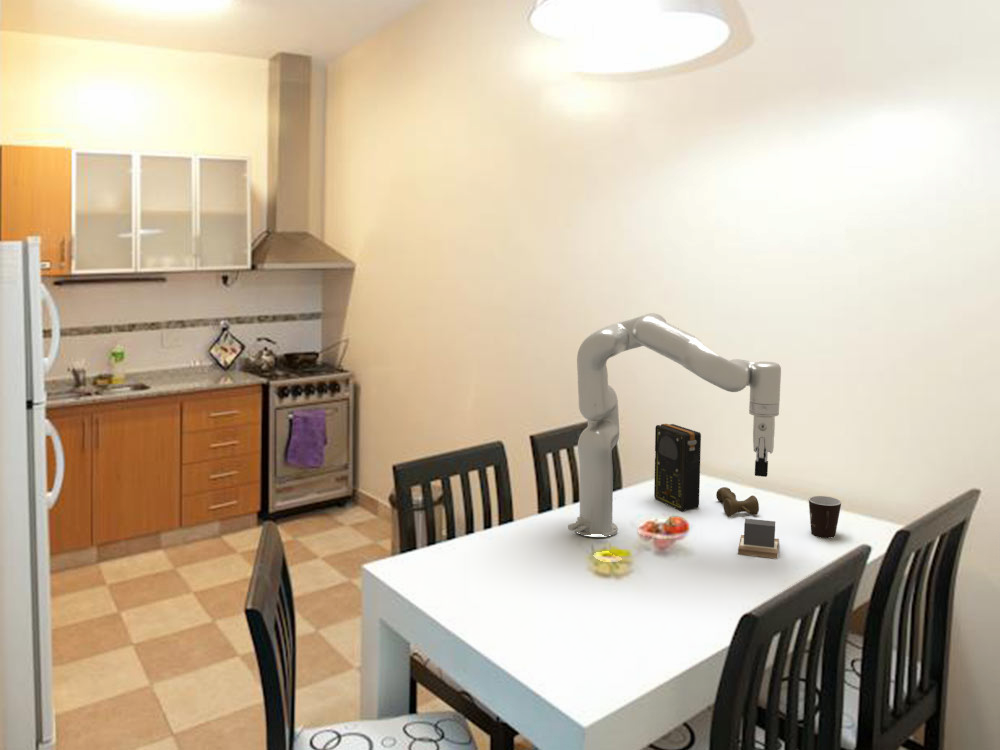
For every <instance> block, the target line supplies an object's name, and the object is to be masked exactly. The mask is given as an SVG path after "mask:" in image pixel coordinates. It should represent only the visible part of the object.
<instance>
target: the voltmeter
mask: <svg viewBox="0 0 1000 750" xmlns="http://www.w3.org/2000/svg"><path fill="white" fill-rule="evenodd" d="M654 431H655V434H654V441H655V442H654V452H655V454H654V455H655V457H654V485H653V486H654V490H653V491H654V492H653V495H654V499H655V500H657V501H660V502H662V503H664V504H665V503H666V504H665V505H667V504H668V506H669V505H670V506H669V507H672V508H674V507H675V508H674V509H676V510H678V511H681V512H685V511H687V510H692V509H697V508H699V506H700V487H701V486H700V484H701V483H700V481H701V480H700V477H701V452H702V451H701V449H702V448H701V447H702V446H701V445H702V443H701V442H702V434H701V432H700V431H696V430H694V429H693V430H692V429H689V428H687V427H683V426H681V425H678V424H674V423H670V424H668V423H661V424H656V426H655V429H654Z"/></svg>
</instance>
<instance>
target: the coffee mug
mask: <svg viewBox="0 0 1000 750" xmlns="http://www.w3.org/2000/svg"><path fill="white" fill-rule="evenodd" d="M808 506H809V523H810V533H811V535H812V536H814V537H817V538H820V537H821V538H822V539H832V538H831V537H833V538H835V537H836V534H837V528H838V523H839V522H838V521H839V518H840V511H841V506H842V501H841V500H840V499H839V498H836V497H832V496H827V495H812V496H811V497H809V498H808ZM834 536H835V537H834ZM821 538H820V539H821Z"/></svg>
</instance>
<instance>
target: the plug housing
mask: <svg viewBox="0 0 1000 750" xmlns="http://www.w3.org/2000/svg"><path fill="white" fill-rule="evenodd" d="M744 519H745V520H744V525H743V526H744V528H743V535H744V544H745V545H754V546H763V547H772V548H774V542H775V539H776V538H775V537H776V536H775V534H776V521H775V520H763V519H755V518H744Z"/></svg>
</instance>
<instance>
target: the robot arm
mask: <svg viewBox="0 0 1000 750" xmlns="http://www.w3.org/2000/svg"><path fill="white" fill-rule="evenodd" d="M640 347H645V348H647V349H648V350H652V352H655V353H657V354H658V355H661V356H663V357H665V358H667V359H669V360H671V361H673V362H675V363H676V364H679V365H681V366H682V368H685V369H686V370H687V371H689V372H691V373H692V374H693V375H696V376H697V377H698V378H701V379H702V380H704V381H705V382H708V383H710V384H712V385H713V386H716V387H718V388H720V389H722V390H724V391H726V392H730V393H739V392H741V391H743V390H744V389H745V388H747V387H749V403H748V404H749V405H748V411H749V412H748V414H749V415H751V416H753V421H752V422H753V424H752V426H753V428H752V445H753V452H754V453H756V454H755V455H756V456H755V461H754V476H755V477H765V478H766V477H768V474H769V473H768V472H769V471H768V469H769V460H768V454H772V453H774V447H775V446H774V445H775V429H776V428H775V427H776V421H775V420H776V419H775V417H778V416H780V398H781V376H782V367H781V365H780V364H779V363H777V362H774V361H749V360H745V359H740V358H739V359H738V358H734V359H730V360H729V359H727V358H725V357H722V356H720V355H718V354H717V353H715V352H713V351H712V350H710V349H709V348H708V347H706V346H705V345H704V344H703V343H702V340H700V339H699V338H698V337H696V336H695V335H693V334H691V333H689V332H687V331H685V330H683V329H680V328H679V327H677V326H675V325H674V324H673V325H672V324H671V323H669V322H667V320H666V319H665V318H664V316H662V315H661V314H658V313H655V312H653V313H652V312H650V313H646V314H644V315H641V316H638V317H634V318H631V319H626V320H623V321H620V322H617V323H612V324H610V325H607V326H605V327H602V328H600V329H598V330H596V331H594V332H593V333H591V334H590V335H588V336H587V337H586V338H585V339H584V340H583V341H582V342H581V344H580V346H579V348H578V351H577V355H576V356H577V357H576V366H577V367H576V369H577V392H578V409H579V413H580V414H581V416H582V417H583V418H584V419H586V420H587V426H586V428H584V429H583V431H582V432H581V433H580V435H579V437H578V442H577V452H578V453H577V454H578V462H579V463H578V465H579V516H577V518H576V521H575V522H573V523H569V524H567V529H568V531H570V532H572V531H574V532H575V531H576V532H578V533H580V534H582V535H591V534H602V535H604V536H609V535H613V534H615V535H617V533H618V532H617V531H619V527H618V525H616V524H615V523H613V512H614V511H613V507H614V506H613V505H614V504H613V501H614V499H613V495H614V494H613V493H614V491H613V488H614V485H613V484H614V481H613V480H614V472H613V470H614V469H613V467H614V465H613V455H612V454H613V453H612V451H613V449H614V448H615V446H616V445H617V443H618V441H619V438H620V419H619V417H620V416H619V402H618V401H619V400H618V396H617V393H616V391H615V389H614V388H613V387H612V386H611V385H609V381H608V380H609V375H608V374H609V373H608V368H607V361H608V360H609V359H610V358H614V357H615V356H617V355H619V354H621V353H623V352H626V351H631V350H633V349H638V348H640ZM576 532H575V533H576ZM613 536H614V535H613Z"/></svg>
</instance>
